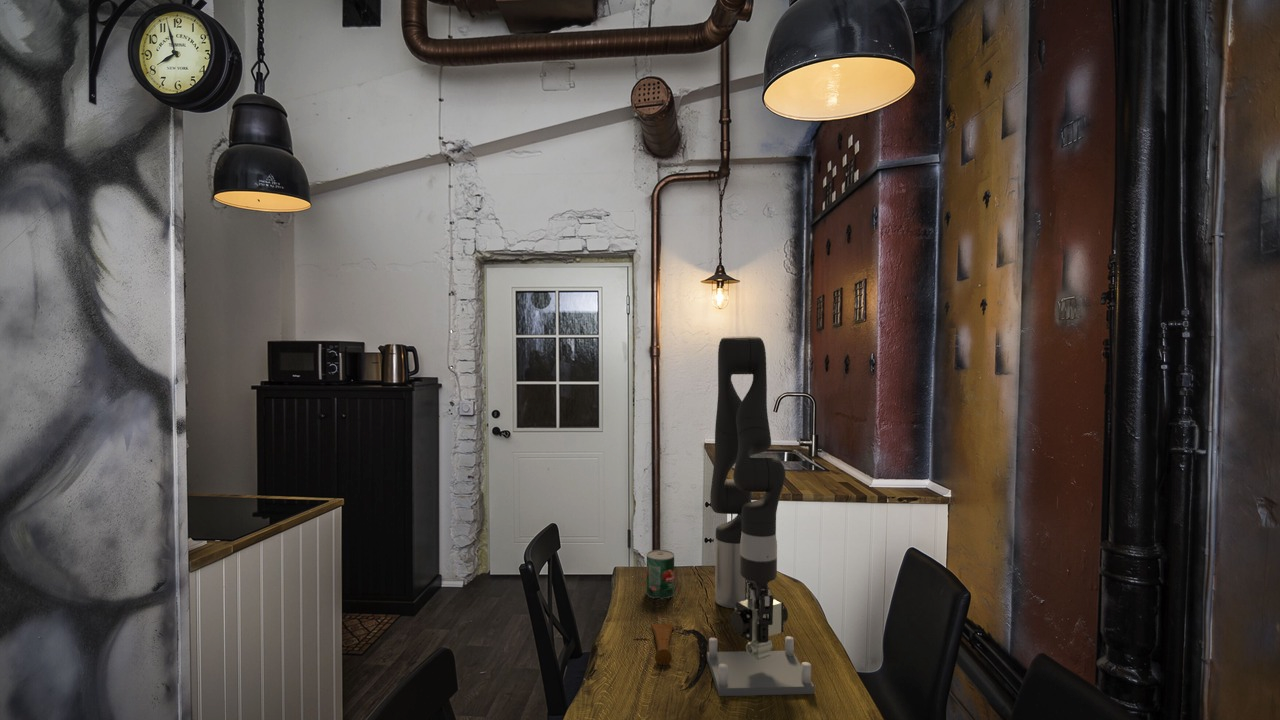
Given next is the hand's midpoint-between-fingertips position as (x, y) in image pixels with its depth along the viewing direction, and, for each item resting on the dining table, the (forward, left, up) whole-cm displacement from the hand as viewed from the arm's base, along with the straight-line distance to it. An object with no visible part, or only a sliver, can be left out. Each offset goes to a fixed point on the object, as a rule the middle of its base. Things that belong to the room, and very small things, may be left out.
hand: (757, 633), depth 120 cm
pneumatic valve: (0, 0, -5) cm, 5 cm away
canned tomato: (-19, -42, -9) cm, 47 cm away
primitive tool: (+3, -24, -10) cm, 26 cm away
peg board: (0, 0, -9) cm, 9 cm away
